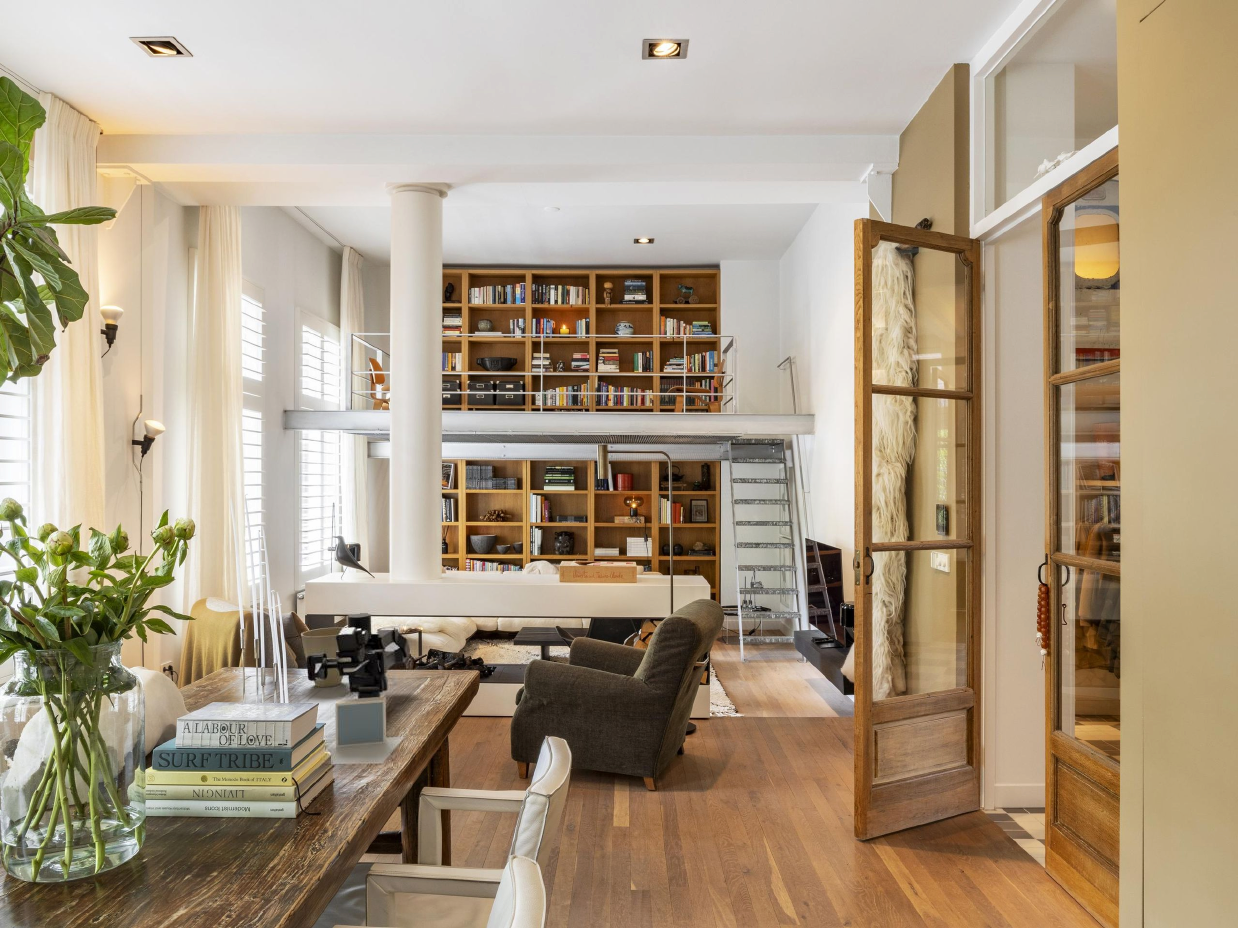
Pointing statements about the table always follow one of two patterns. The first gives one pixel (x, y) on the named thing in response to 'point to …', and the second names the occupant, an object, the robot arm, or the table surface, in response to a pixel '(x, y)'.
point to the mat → (363, 752)
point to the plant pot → (323, 651)
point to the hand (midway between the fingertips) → (335, 674)
